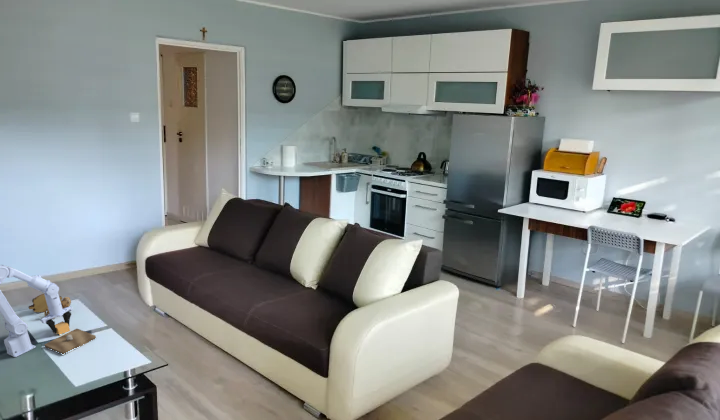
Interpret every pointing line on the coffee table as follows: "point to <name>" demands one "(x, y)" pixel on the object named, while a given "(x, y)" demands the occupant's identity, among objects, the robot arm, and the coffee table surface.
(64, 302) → the lion figurine
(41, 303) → the wooden carving
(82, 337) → the walnut board
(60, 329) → the tan rounded cube
